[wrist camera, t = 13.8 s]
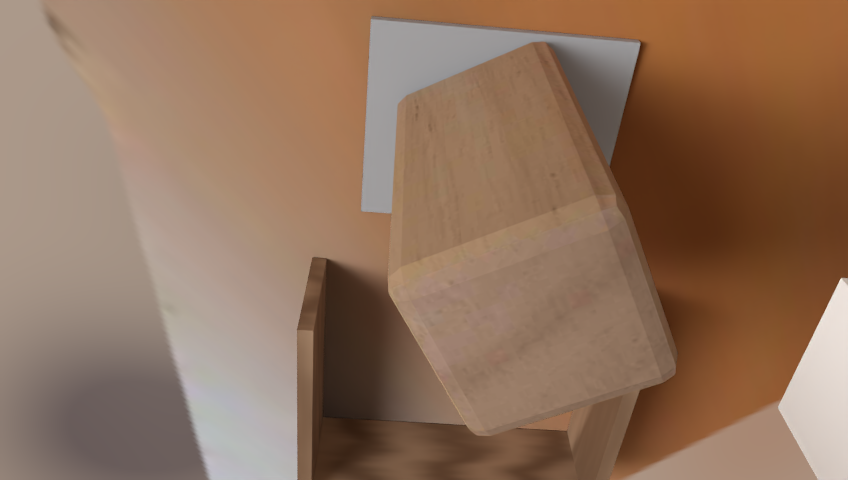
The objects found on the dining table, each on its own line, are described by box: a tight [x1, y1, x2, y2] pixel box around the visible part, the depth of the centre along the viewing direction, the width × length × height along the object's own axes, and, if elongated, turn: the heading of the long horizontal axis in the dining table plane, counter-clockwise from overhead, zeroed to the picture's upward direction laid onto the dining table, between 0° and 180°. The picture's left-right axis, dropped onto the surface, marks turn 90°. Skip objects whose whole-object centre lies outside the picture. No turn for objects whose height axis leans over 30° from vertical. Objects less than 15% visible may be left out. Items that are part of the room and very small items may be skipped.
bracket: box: [297, 258, 640, 480], centre depth 55 cm, size 23×17×8 cm
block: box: [388, 42, 678, 436], centre depth 38 cm, size 10×10×20 cm
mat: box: [361, 16, 641, 213], centre depth 47 cm, size 16×13×1 cm
